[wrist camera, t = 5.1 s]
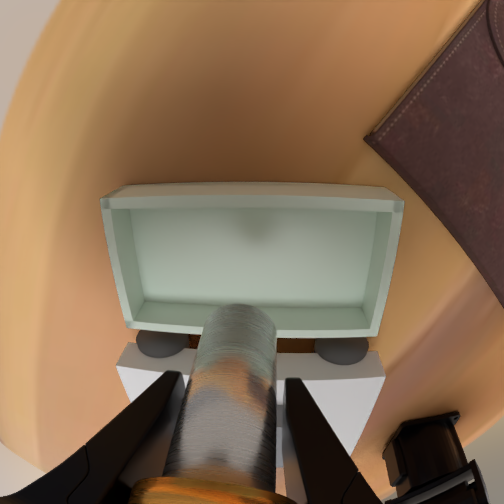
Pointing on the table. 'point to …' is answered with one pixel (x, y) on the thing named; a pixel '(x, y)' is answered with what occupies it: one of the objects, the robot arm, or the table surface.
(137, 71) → the table surface
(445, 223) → the notebook
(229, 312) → the pin
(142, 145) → the table surface
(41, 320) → the table surface
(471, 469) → the robot arm
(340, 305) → the tray
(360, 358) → the white socket plate
